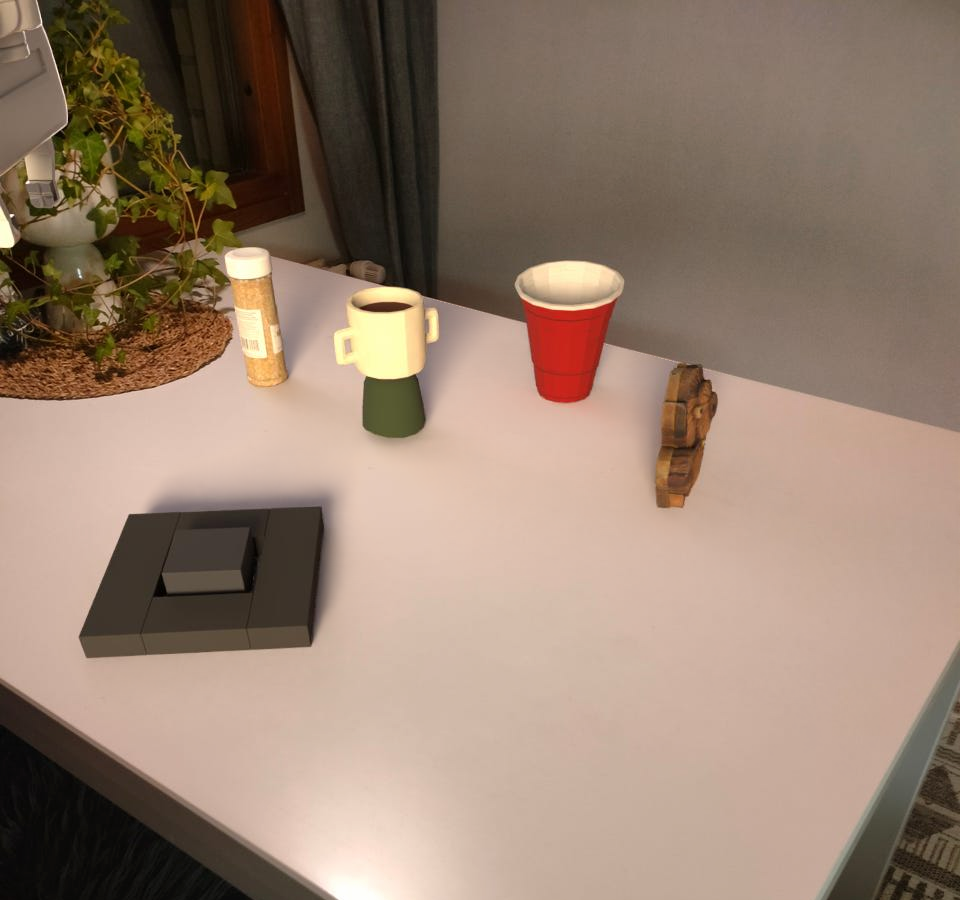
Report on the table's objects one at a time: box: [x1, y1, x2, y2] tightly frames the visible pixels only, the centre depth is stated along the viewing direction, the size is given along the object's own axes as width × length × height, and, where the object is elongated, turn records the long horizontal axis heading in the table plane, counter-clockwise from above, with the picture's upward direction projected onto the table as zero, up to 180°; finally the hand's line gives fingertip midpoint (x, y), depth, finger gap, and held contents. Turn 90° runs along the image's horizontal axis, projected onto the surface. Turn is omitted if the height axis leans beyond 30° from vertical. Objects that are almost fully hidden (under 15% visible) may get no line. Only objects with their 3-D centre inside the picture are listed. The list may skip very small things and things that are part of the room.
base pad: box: [78, 505, 325, 659], centre depth 71 cm, size 16×16×2 cm
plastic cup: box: [514, 259, 626, 404], centre depth 94 cm, size 11×11×12 cm
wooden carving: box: [654, 362, 719, 509], centre depth 81 cm, size 16×5×10 cm, turn 167°
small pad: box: [162, 527, 258, 597], centre depth 71 cm, size 6×6×4 cm
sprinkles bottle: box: [224, 246, 289, 387], centre depth 96 cm, size 5×5×14 cm
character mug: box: [333, 286, 440, 439], centre depth 87 cm, size 11×7×13 cm, turn 123°
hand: (27, 224), depth 67 cm, fingers open, 8 cm apart
